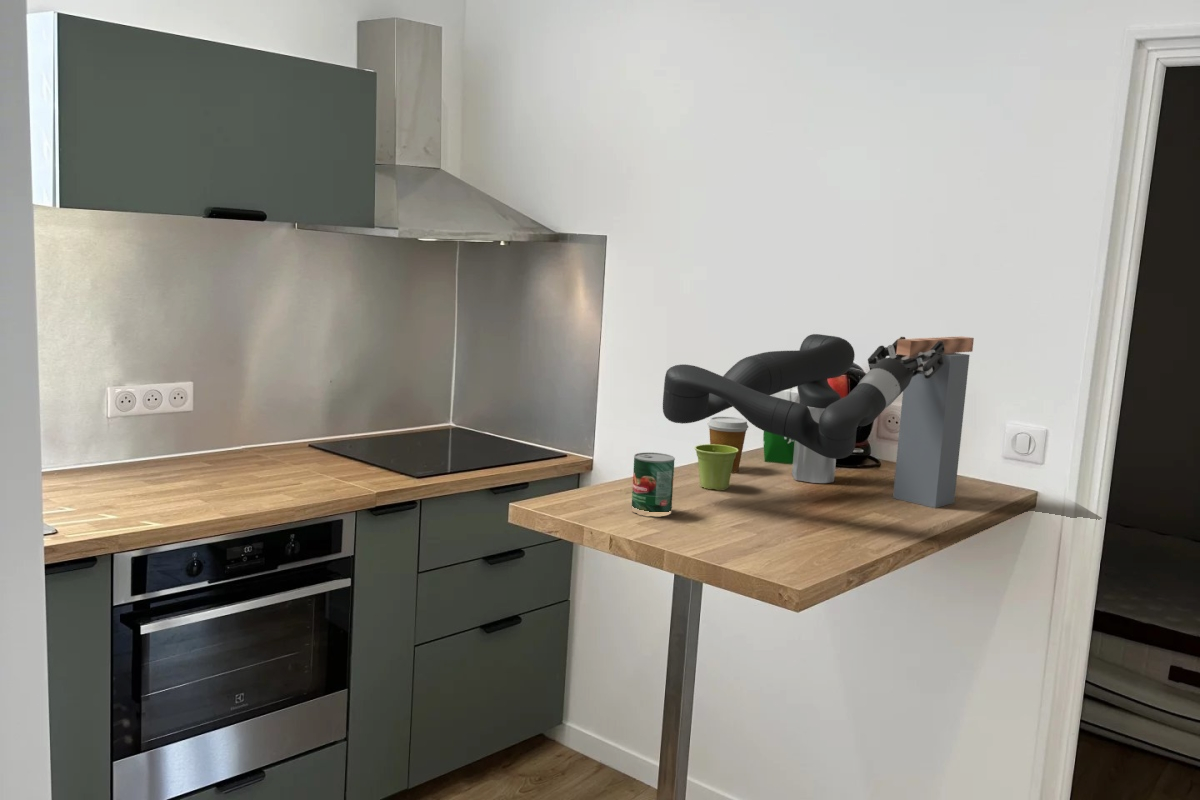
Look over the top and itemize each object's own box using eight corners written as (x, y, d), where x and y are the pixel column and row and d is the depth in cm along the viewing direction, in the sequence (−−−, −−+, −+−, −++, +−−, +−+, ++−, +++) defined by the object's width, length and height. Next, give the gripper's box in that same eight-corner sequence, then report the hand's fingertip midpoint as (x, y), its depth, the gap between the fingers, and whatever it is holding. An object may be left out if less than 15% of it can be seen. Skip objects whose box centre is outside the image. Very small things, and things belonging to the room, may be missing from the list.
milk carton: (762, 455, 263) (768, 377, 260) (798, 458, 261) (804, 380, 258) (760, 462, 255) (766, 381, 252) (797, 465, 253) (804, 384, 250)
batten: (909, 355, 207) (910, 340, 207) (896, 354, 210) (897, 339, 209) (972, 351, 225) (973, 337, 225) (959, 350, 227) (960, 336, 227)
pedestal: (935, 508, 216) (950, 356, 212) (892, 497, 224) (906, 350, 219) (954, 502, 222) (969, 354, 217) (912, 493, 229) (926, 349, 224)
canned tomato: (678, 511, 203) (681, 456, 202) (661, 519, 196) (664, 462, 195) (641, 504, 207) (645, 450, 205) (623, 512, 200) (627, 456, 198)
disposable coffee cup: (748, 468, 247) (752, 418, 245) (740, 476, 238) (744, 424, 236) (709, 463, 250) (713, 414, 248) (700, 471, 241) (703, 420, 239)
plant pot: (713, 494, 218) (716, 454, 217) (683, 485, 226) (685, 446, 224) (744, 489, 224) (747, 450, 223) (713, 480, 231) (716, 442, 230)
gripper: (910, 373, 198) (951, 330, 206) (847, 365, 208) (888, 323, 217) (917, 406, 201) (957, 361, 210) (855, 395, 212) (895, 354, 220)
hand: (922, 342), depth 213 cm, fingers open, 8 cm apart
